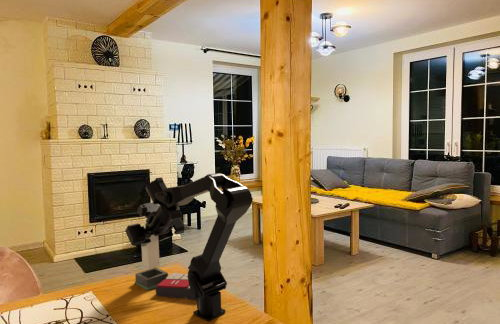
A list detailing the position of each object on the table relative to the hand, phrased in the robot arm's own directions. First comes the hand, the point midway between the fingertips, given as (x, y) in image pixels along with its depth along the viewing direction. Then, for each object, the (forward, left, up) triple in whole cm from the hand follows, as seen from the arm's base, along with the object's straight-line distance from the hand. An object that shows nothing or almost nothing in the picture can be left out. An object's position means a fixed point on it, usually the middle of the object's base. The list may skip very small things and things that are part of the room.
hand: (147, 243), depth 123 cm
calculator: (-15, -3, -14) cm, 20 cm away
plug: (-1, 0, -7) cm, 7 cm away
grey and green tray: (-1, 0, -13) cm, 13 cm away
